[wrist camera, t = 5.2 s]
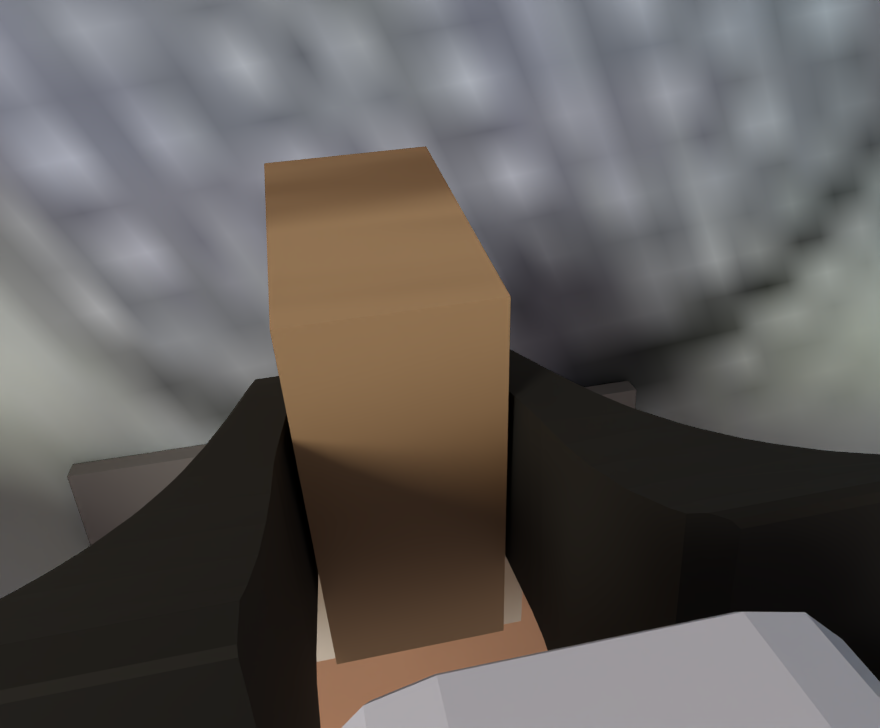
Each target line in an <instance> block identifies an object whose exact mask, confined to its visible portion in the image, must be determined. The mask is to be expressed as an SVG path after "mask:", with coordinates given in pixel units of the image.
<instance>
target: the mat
mask: <svg viewBox="0 0 880 728" xmlns="http://www.w3.org/2000/svg"><path fill="white" fill-rule="evenodd" d="M584 388H587V389H589V390H591V391H593V392H595V393H598V394H600V395H602V396H605V397H607V398H609V399H612V400H614V401H617V402H619V403H621V404H624V405H626V406H629V407H632V408H634V409H635V404H636V389H635V388H634V387H633V386H632V384H631V383H630V382H629V381H623V382H616V383H609V384H603V385H596V386H590V387H584ZM205 446H206V444H205V445H198V446H192V447H185V448H178V449H172V450H165V451H158V452H152V453H145V454H138V455H132V456H125V457H119V458H112V459H105V460H99V461H92V462H85V463H79V464H73V465H72V467H71V469H70V472H69V474H68V476H67V477H68V480H69V483H70V486H71V489H72V492H73V495H74V498H75V501H76V504H77V507H78V510H79V513H80V516H81V518H82V521H83V524H84V527H85V530H86V533H87V536H88V539H89V542H90V545H92V544H94V543H95V542H96V541H98V540H99V539H101V538H102V537H103V536H105V535H106V534H108V533H109V532H110V531H112V530H113V529H115V528H116V527H117V526H119V525H120V524H121V523H123V522H124V521H126V520H127V519H128V518H130V517H131V516H133V515H134V514H135V513H136V512H138V511H139V510H140V509H141V508H142V507H144V506H145V505H146V504H147V503H148V502H149V501H151V500H152V499H153V498H154V497H155V496H156V495H158V494H159V493H160V492H161V491H162V490H163V489H164V488H165V487H167V486H168V485H169V484H170V483H171V482H172V481H173V480H174V479H175V478H176V477H177V476H178V475H179V474H180V473H181V472H182V471H183V470H184V469H185V468H186V467H187V466H188V464H189V463H190V462H191V461H192V460H193V459H194V458H195V457H196V456H197V454H198V453H199V452H200V451H201V450H202V449H203V448H204V447H205Z"/></svg>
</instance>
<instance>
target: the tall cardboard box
mask: <svg viewBox="0 0 880 728" xmlns="http://www.w3.org/2000/svg"><path fill="white" fill-rule="evenodd" d="M264 168H265V198H266V227H267V257H268V287H269V317H270V333H271V338H272V343H273V348H274V353H275V358H276V363H277V368H278V373H279V378H280V383H281V388H282V393H283V398H284V403H285V408H286V413H287V418H288V423H289V428H290V433H291V438H292V443H293V448H294V453H295V458H296V463H297V468H298V473H299V478H300V483H301V488H302V493H303V498H304V503H305V508H306V513H307V518H308V523H309V528H310V533H311V538H312V543H313V548H314V553H315V558H316V563H317V568H318V573H319V576H318V614H317V653H316V656H317V662H319V661H324V660H329V659H334V658H336V663H337V664H341V663H346V662H351V661H356V660H361V659H366V658H371V657H376V656H381V655H386V654H391V653H396V652H401V651H406V650H411V649H416V648H420V647H425V646H430V645H435V644H440V643H445V642H450V641H455V640H460V639H465V638H470V637H475V636H480V635H485V634H490V633H495V632H500V631H504V624H508V623H513V622H518V621H521V612H522V589H521V587H520V585H519V583H518V581H517V579H516V577H515V574H514V572H513V570H512V568H511V566H510V564H509V562H508V560H507V558H506V556H505V537H506V490H507V443H508V396H509V348H510V301H511V297H510V295H509V293H508V291H507V290H506V288H505V286H504V284H503V282H502V281H501V279H500V277H499V275H498V274H497V272H496V270H495V268H494V266H493V265H492V263H491V261H490V259H489V258H488V256H487V254H486V252H485V251H484V249H483V247H482V245H481V243H480V242H479V240H478V238H477V236H476V235H475V233H474V231H473V229H472V227H471V226H470V224H469V222H468V220H467V219H466V217H465V215H464V213H463V211H462V210H461V208H460V206H459V204H458V203H457V201H456V199H455V197H454V195H453V194H452V192H451V190H450V188H449V187H448V185H447V183H446V181H445V179H444V178H443V176H442V174H441V172H440V171H439V169H438V167H437V165H436V163H435V162H434V160H433V158H432V156H431V155H430V153H429V151H428V149H427V147H416V148H407V149H397V150H388V151H378V152H369V153H360V154H350V155H341V156H331V157H322V158H312V159H303V160H293V161H284V162H274V163H265V164H264Z"/></svg>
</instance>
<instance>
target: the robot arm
mask: <svg viewBox="0 0 880 728" xmlns="http://www.w3.org/2000/svg"><path fill="white" fill-rule="evenodd" d="M505 556H506V558H507V560H508V562H509V564H510V566H511V568H512V570H513V572H514V574H515V577H516V579H517V581H518V583H519V585H520V587H521V589H522V591H523V593H524V595H525V597H526V599H527V602H528V604H529V606H530V608H531V610H532V612H533V614H534V617H535V619H536V622H537V624H538V626H539V629H540V631H541V633H542V636H543V638H544V641H545V644H546V647H547V650H548V651H544V652H539V653H534V654H529V655H525V656H520V657H515V658H510V659H505V660H500V661H496V662H491V663H486V664H481V665H476V666H472V667H467V668H462V669H457V670H452V671H448V672H443V673H438V674H434V675H431V676H429V677H427V678H424V679H422V680H419V681H417V682H414V683H412V684H409V685H407V686H405V687H402V688H400V689H397V690H395V691H392V692H390V693H387V694H385V695H383V696H380V697H378V698H375V699H373V700H370V701H369V702H368V703H366V704H365V705H363V706H362V707H361V708H360V709H359V710H358V711H357V712H356V713H355V714H354V715H353V716H352V717H351V718H350V719H349V720H348V722H347V723H346V724H345V725H344V726H343V727H342V728H880V455H878V454H863V453H849V452H834V451H824V450H815V449H808V448H800V447H793V446H786V445H778V444H772V443H766V442H760V441H755V440H749V439H743V438H739V437H734V436H730V435H725V434H721V433H716V432H712V431H707V430H703V429H699V428H695V427H691V426H688V425H684V424H680V423H677V422H674V421H671V420H668V419H664V418H661V417H658V416H655V415H652V414H649V413H646V412H643V411H640V410H637V409H634V408H632V407H629V406H626V405H624V404H621V403H619V402H617V401H614V400H612V399H609V398H607V397H605V396H602V395H600V394H598V393H595V392H593V391H591V390H589V389H587V388H584V387H582V386H580V385H578V384H576V383H574V382H572V381H570V380H568V379H566V378H564V377H562V376H560V375H558V374H556V373H554V372H552V371H550V370H548V369H546V368H544V367H542V366H540V365H539V364H537V363H535V362H533V361H531V360H529V359H527V358H525V357H524V356H522V355H520V354H518V353H516V352H514V351H512V350H510V349H509V396H508V443H507V490H506V537H505ZM318 576H319V573H318V568H317V563H316V558H315V553H314V548H313V543H312V538H311V533H310V528H309V523H308V518H307V513H306V508H305V503H304V498H303V493H302V488H301V483H300V478H299V473H298V468H297V463H296V458H295V453H294V448H293V443H292V438H291V433H290V428H289V423H288V418H287V413H286V408H285V403H284V398H283V393H282V388H281V383H280V378H279V376H276V377H269V378H263V379H256V380H255V381H254V382H253V383H252V385H251V386H250V387H249V388H248V390H247V391H246V392H245V394H244V395H243V397H242V398H241V399H240V401H239V402H238V404H237V405H236V407H235V408H234V409H233V411H232V412H231V413H230V415H229V416H228V418H227V419H226V420H225V422H224V423H223V424H222V425H221V427H220V428H219V429H218V431H217V432H216V433H215V434H214V436H213V437H212V438H211V440H210V441H209V442H208V443H207V444H206V446H205V447H204V448H203V449H202V450H201V451H200V452H199V453H198V454H197V456H196V457H195V458H194V459H193V460H192V461H191V462H190V463H189V464H188V466H187V467H186V468H185V469H184V470H183V471H182V472H181V473H180V474H179V475H178V476H177V477H176V478H175V479H174V480H173V481H172V482H171V483H170V484H169V485H168V486H167V487H165V488H164V489H163V490H162V491H161V492H160V493H159V494H158V495H156V496H155V497H154V498H153V499H152V500H151V501H149V502H148V503H147V504H146V505H145V506H144V507H142V508H141V509H140V510H139V511H138V512H136V513H135V514H134V515H133V516H131V517H130V518H128V519H127V520H126V521H124V522H123V523H121V524H120V525H119V526H117V527H116V528H115V529H113V530H112V531H110V532H109V533H108V534H106V535H105V536H103V537H102V538H101V539H99V540H98V541H96V542H95V543H94V544H92V545H91V546H89V547H88V548H87V549H85V550H84V551H82V552H81V553H79V554H77V555H76V556H74V557H73V558H71V559H69V560H68V561H66V562H65V563H63V564H61V565H60V566H58V567H56V568H55V569H53V570H52V571H50V572H48V573H46V574H44V575H43V576H41V577H39V578H37V579H36V580H34V581H32V582H30V583H29V584H27V585H25V586H23V587H22V588H20V589H18V590H16V591H14V592H12V593H10V594H8V595H7V596H5V597H3V598H1V599H0V728H321V725H320V713H319V701H318V688H317V656H316V653H317V614H318Z"/></svg>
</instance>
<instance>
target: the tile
mask: <svg viewBox="0 0 880 728" xmlns="http://www.w3.org/2000/svg"><path fill="white" fill-rule="evenodd" d="M544 651H548V650H547V647H546V644H545V641H544V638H543V636H542V633H541V631H540V629H539V626H538V624H537V622H536V619H535V617H534V614H533V612H532V610H531V608H530V606H529V604H528V602H527V599H526V597H525V595H524V593H523V591H522V612H521V621H518V622H513V623H508V624H504V631H500V632H495V633H490V634H485V635H480V636H475V637H470V638H465V639H460V640H455V641H450V642H445V643H440V644H435V645H430V646H425V647H420V648H416V649H411V650H406V651H401V652H396V653H391V654H386V655H381V656H376V657H371V658H366V659H361V660H356V661H351V662H346V663H341V664H337V663H336V658H334V659H329V660H324V661H319V662H317V688H318V701H319V713H320V725H321V728H342V727H343V726H344V725H345V724H346V723H347V722H348V720H349V719H350V718H351V717H352V716H353V715H354V714H355V713H356V712H357V711H358V710H359V709H360V708H361V707H362V706H363V705H365V704H366V703H368V702H369V701H370V700H373V699H375V698H378V697H380V696H383V695H385V694H387V693H390V692H392V691H395V690H397V689H400V688H402V687H405V686H407V685H409V684H412V683H414V682H417V681H419V680H422V679H424V678H427V677H429V676H431V675H434V674H438V673H443V672H448V671H452V670H457V669H462V668H467V667H472V666H476V665H481V664H486V663H491V662H496V661H500V660H505V659H510V658H515V657H520V656H525V655H529V654H534V653H539V652H544Z"/></svg>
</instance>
